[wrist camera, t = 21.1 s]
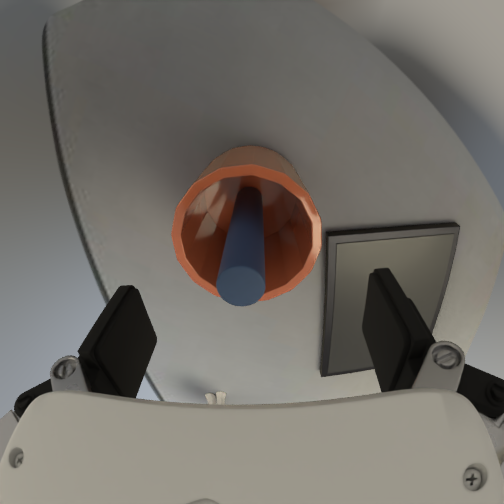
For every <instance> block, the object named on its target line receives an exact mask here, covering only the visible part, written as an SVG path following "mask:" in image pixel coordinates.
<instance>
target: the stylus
mask: <svg viewBox="0 0 504 504" xmlns="http://www.w3.org/2000/svg"><path fill="white" fill-rule="evenodd" d="M265 287H266V286H265V255H264V227H263V200H262V194H261V193H260V191H259V190H258V189H256V188H254V187H244V188H242V189H241V190H240V191H239V192H238V194H237V196H236V200H235V204H234V209H233V213H232V217H231V221H230V225H229V229H228V234H227V238H226V242H225V246H224V251H223V255H222V259H221V264H220V268H219V273H218V277H217V282H216V288H217V291H218V293H219V295H220V296H221V298H222V299H223V300H225V301H226V302H228V303H229V304H232V305H235V306H248V305H251V304H254V303H256V302H257V301H258V300H260V298H261V297H262V296H263V294H264V292H265Z"/></svg>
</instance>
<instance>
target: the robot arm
mask: <svg viewBox="0 0 504 504" xmlns="http://www.w3.org/2000/svg"><path fill="white" fill-rule="evenodd" d="M362 332H363V335H364V338H365V341H366V344H367V347H368V350H369V353H370V356H371V359H372V362H373V366H374V369H375V372H376V375H377V378H378V382H379V385H380V388H381V392H382V393H376V394H369V395H362V396H355V397H347V398H339V399H331V400H321V401H311V402H299V403H283V404H257V405H218V404H193V403H177V402H165V401H153V400H145V399H136V396H137V393H138V390H139V388H140V385H141V382H142V380H143V377H144V374H145V372H146V369H147V366H148V364H149V361H150V359H151V356H152V353H153V351H154V348H155V346H156V343H157V336H156V333H155V331H154V329H153V326H152V324H151V321H150V319H149V316H148V314H147V311H146V309H145V306H144V303H143V301H142V298H141V295H140V293H139V290H138V289H135V287H134V286H132V285H126V286H120V287H119V288H118V289H117V291H116V292H115V294H114V295H113V297H112V298H111V299H110V301H109V302H108V304H107V305H106V307H105V308H104V310H103V312H102V313H101V315H100V316H99V318H98V319H97V321H96V322H95V324H94V326H93V327H92V329H91V330H90V332H89V333H88V335H87V337H86V338H85V340H84V341H83V343H82V345H81V346H80V348H79V350H78V353H79V357H78V358H76V357H75V356H65V357H62V358H60V359H59V360H58V361H56V362H55V363H54V365H53V366H52V368H51V371H50V377H51V379H49V380H47V381H45V382H43V383H41V384H39V385H38V386H36V387H33V388H32V389H30V390H28V391H26V392H24V393H22V394H21V395H20V396H19V397H18V399H17V400H16V402H15V406H14V410H15V411H14V412H13V411H12V410H10V411H9V412H8V413H7V414H6V415H5V416H4V417H3V418H1V419H0V504H504V380H503V379H501V378H498V377H496V376H493V375H491V374H489V373H486V372H484V371H481V370H479V369H477V368H475V367H472V366H470V365H467V364H465V355H464V352H463V351H462V349H461V348H460V347H459V346H458V345H456V344H454V343H452V342H448V341H439V342H436V341H435V339H434V337H433V336H432V334H431V332H430V330H429V328H428V327H427V325H426V323H425V321H424V320H423V318H422V316H421V314H420V313H419V311H418V309H417V308H416V306H415V304H414V303H413V301H412V300H411V298H407V296H406V295H405V293H404V291H403V290H402V288H401V286H400V285H399V283H398V282H397V280H396V278H395V277H394V275H393V274H392V272H391V270H390V269H389V268H378V269H374V271H373V273H370V274H369V280H368V288H367V295H366V303H365V309H364V316H363V322H362Z"/></svg>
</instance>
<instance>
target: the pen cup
mask: <svg viewBox="0 0 504 504" xmlns="http://www.w3.org/2000/svg"><path fill="white" fill-rule="evenodd" d="M244 187H254V188H256V189H258V190H259V191H260V193H261V194H262V200H263V227H264V255H265V286H266V287H265V292H264V294H263V296H262V297H261V298H260V300H258V301H264V300H269V299H272V298H274V297H276V296H279V295H281V294H283V293H286V292H288V291H290V290H292V289H293V288H294V287H295V286H296V285H298V284H299V283H300V282H301V281H302V280H303V279H304V278H305V277H306V276H307V275H308V274H309V273H310V272H311V270H312V268H313V266H314V264H315V261H316V259H317V257H318V255H319V252H320V250H321V247H322V221H321V218H320V216H319V214H318V211H317V209H316V207H315V205H314V203H313V201H312V199H311V197H310V195H309V193H308V191H307V190H306V188H305V186H304V184H303V183H302V181H301V179H300V177H299V176H298V174H297V172H296V171H295V169H294V167H293V166H292V165H291V164H290V163H289V162H288V161H287V160H286V159H285V158H284V157H282V156H281V155H280V154H278V153H277V152H275V151H273V150H270V149H267V148H264V147H260V146H241V147H236V148H232V149H230V150H228V151H226V152H224V153H223V154H221V155H220V156H218V157H216V158H215V159H214V160H213V161H212V162H211V163H210V164H209V166H208V167H207V168H206V169H205V170H204V171H203V173H202V174H201V175H200V176H199V177H198V178H197V180H196V181H195V182H194V183H193V184H192V186H191V187H190V188H189V190H188V191H187V193H186V194H185V195H184V197H183V198H182V200H181V201H180V202H179V204H178V205H177V208H176V210H175V216H174V221H173V226H172V232H171V236H172V240H173V244H174V248H175V252H176V256H177V260H178V261H179V263H180V264H181V266H182V267H183V268H184V270H185V271H186V272H187V274H188V275H189V276H190V278H191V279H192V280H193V281H194V282H195V283H197V284H198V285H200V286H201V287H203V288H204V289H206V290H207V291H209V292H210V293H212V294H213V295H216V296H218V297H221V296H220V295H219V293H218V291H217V288H216V282H217V277H218V273H219V268H220V264H221V259H222V255H223V251H224V246H225V242H226V238H227V234H228V229H229V225H230V221H231V217H232V213H233V209H234V204H235V200H236V196H237V194H238V192H239V191H240V190H241V189H242V188H244Z"/></svg>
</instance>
